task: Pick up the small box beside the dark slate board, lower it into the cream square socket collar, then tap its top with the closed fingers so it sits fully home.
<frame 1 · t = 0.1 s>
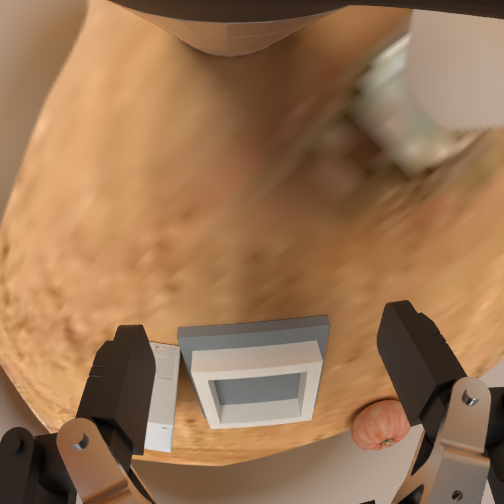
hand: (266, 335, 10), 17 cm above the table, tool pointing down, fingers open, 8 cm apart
socket board: (256, 372, 38), on the table
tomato: (375, 406, 48), on the table
small box: (157, 360, 37), on the table
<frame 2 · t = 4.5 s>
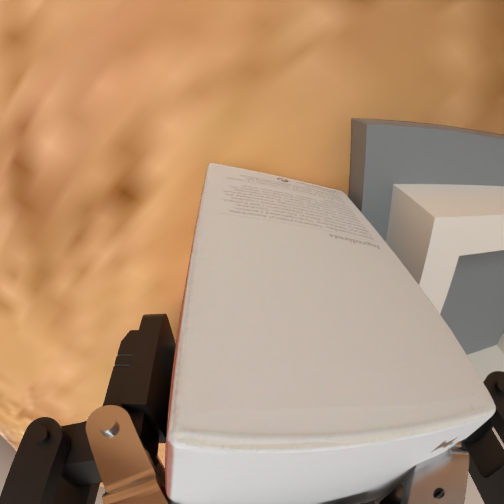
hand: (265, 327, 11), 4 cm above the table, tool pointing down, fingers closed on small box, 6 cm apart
socket board: (460, 284, 16), on the table
small box: (255, 257, 14), on the table, touching gripper
when the fingers open (7 cm above the table, at t = 9.6 s): small box stays where it is, resting on socket board.
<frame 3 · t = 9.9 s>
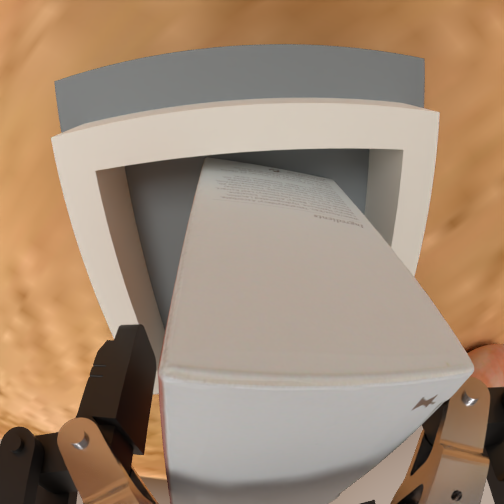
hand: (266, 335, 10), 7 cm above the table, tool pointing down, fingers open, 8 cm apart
socket board: (252, 234, 16), on the table
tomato: (462, 364, 25), on the table
small box: (253, 245, 15), point 1 cm above the table, touching socket board
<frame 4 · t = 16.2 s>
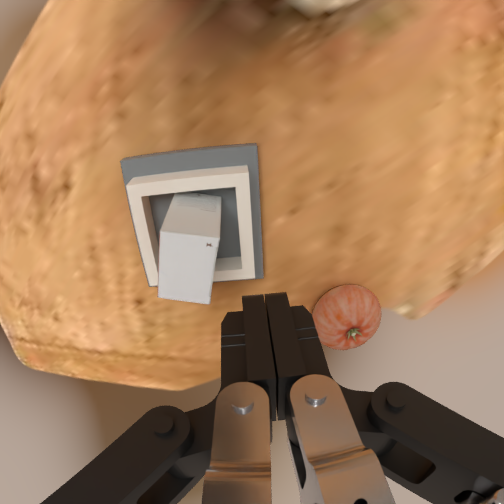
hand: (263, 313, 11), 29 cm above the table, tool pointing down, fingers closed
socket board: (196, 218, 40), on the table
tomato: (339, 301, 49), on the table
small box: (195, 222, 39), point 1 cm above the table, touching socket board
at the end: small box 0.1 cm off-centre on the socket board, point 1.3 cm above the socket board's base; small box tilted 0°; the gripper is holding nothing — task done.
